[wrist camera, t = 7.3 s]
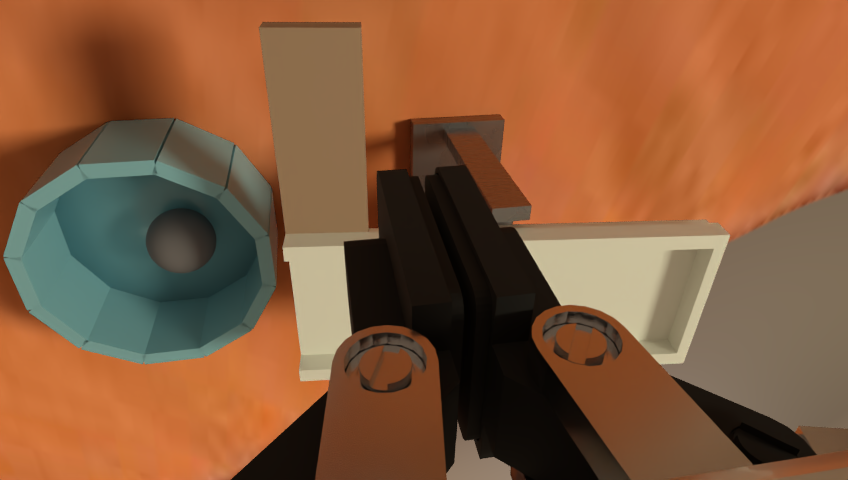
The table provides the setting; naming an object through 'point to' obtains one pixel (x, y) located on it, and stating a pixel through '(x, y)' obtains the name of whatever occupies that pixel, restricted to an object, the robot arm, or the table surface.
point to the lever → (547, 243)
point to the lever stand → (469, 158)
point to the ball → (181, 240)
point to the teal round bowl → (144, 242)
